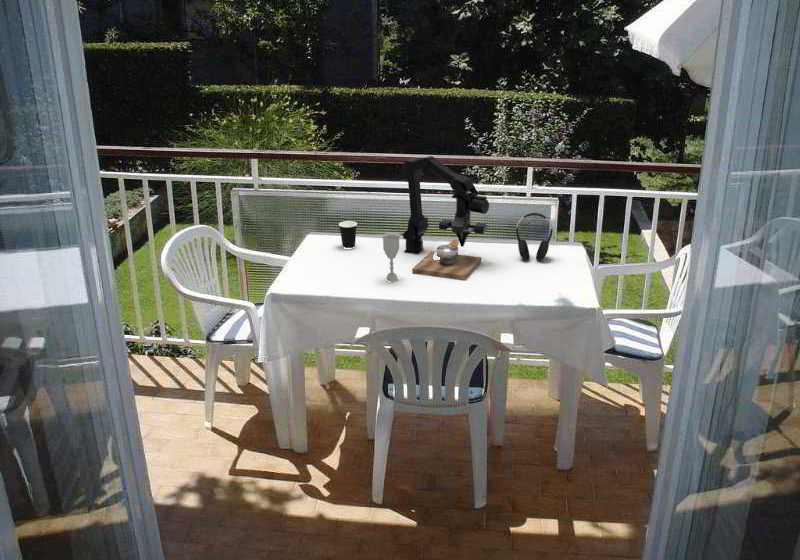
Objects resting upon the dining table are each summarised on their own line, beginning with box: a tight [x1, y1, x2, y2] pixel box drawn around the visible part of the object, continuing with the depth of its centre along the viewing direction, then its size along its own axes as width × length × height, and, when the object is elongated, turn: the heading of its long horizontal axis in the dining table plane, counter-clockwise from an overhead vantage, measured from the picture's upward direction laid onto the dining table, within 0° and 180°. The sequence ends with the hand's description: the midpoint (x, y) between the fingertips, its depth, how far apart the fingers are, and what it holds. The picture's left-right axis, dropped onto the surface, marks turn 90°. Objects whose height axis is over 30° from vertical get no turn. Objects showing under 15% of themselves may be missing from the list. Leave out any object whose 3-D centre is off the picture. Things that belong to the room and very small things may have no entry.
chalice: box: [381, 232, 401, 282], centre depth 297 cm, size 7×7×18 cm
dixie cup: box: [338, 220, 358, 248], centre depth 334 cm, size 8×8×11 cm
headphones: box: [515, 212, 554, 261], centre depth 316 cm, size 9×15×20 cm, turn 80°
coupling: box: [436, 238, 460, 259], centre depth 313 cm, size 15×8×3 cm, turn 158°
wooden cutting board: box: [411, 250, 483, 281], centre depth 311 cm, size 22×22×5 cm
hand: (462, 246), depth 315 cm, fingers closed
